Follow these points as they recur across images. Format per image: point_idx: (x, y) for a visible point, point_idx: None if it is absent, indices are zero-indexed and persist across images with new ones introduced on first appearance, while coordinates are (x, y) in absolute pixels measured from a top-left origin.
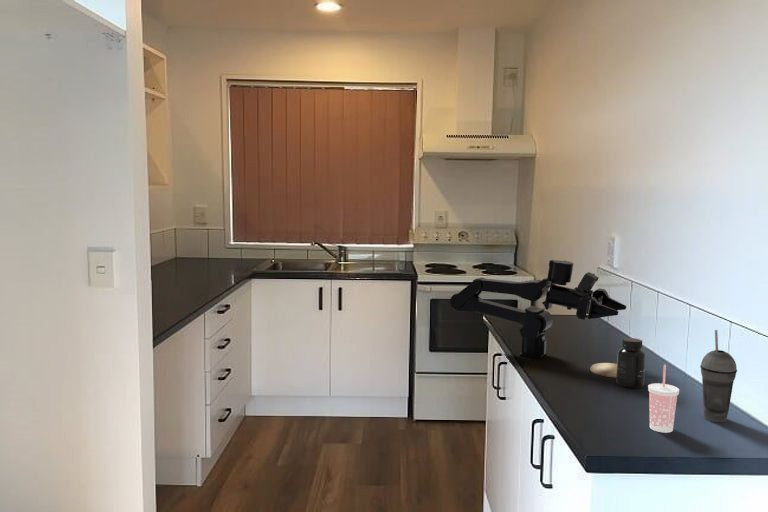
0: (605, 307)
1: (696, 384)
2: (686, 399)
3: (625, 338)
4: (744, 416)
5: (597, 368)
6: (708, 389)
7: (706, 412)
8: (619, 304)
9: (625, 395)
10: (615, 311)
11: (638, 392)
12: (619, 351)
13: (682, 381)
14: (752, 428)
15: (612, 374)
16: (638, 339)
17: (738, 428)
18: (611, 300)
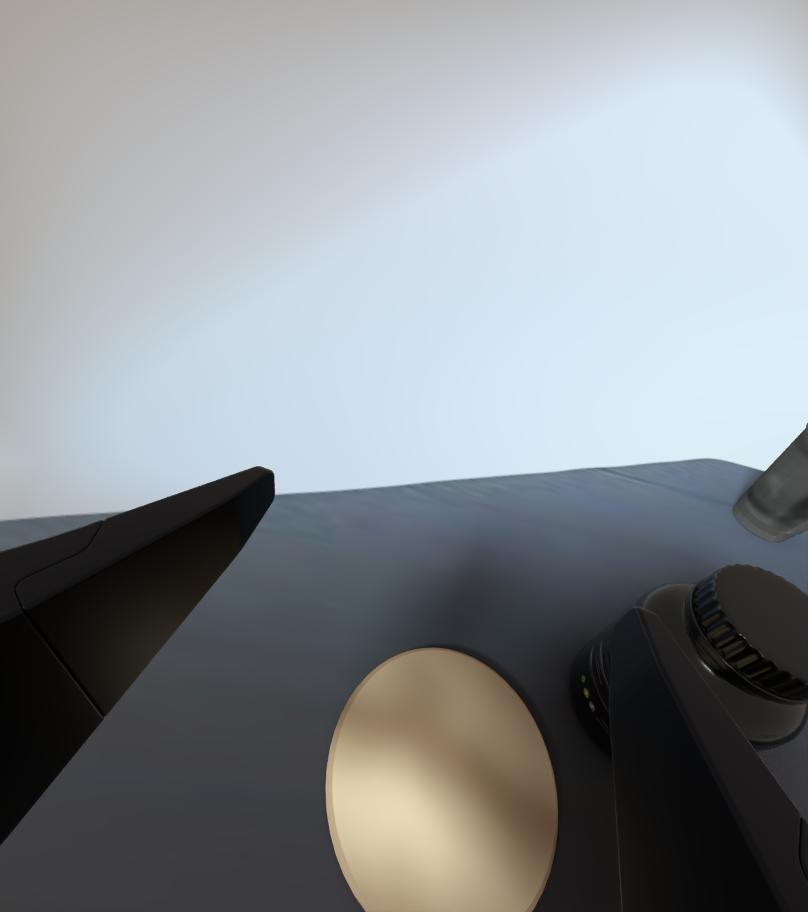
0: (799, 823)
1: (494, 484)
2: (655, 543)
3: (787, 661)
4: (686, 466)
5: (475, 889)
6: None
7: (803, 531)
8: (220, 515)
9: (783, 752)
10: (664, 644)
11: None
12: (788, 734)
13: (479, 509)
14: (752, 476)
15: (553, 782)
16: (734, 578)
17: None
18: (92, 586)
